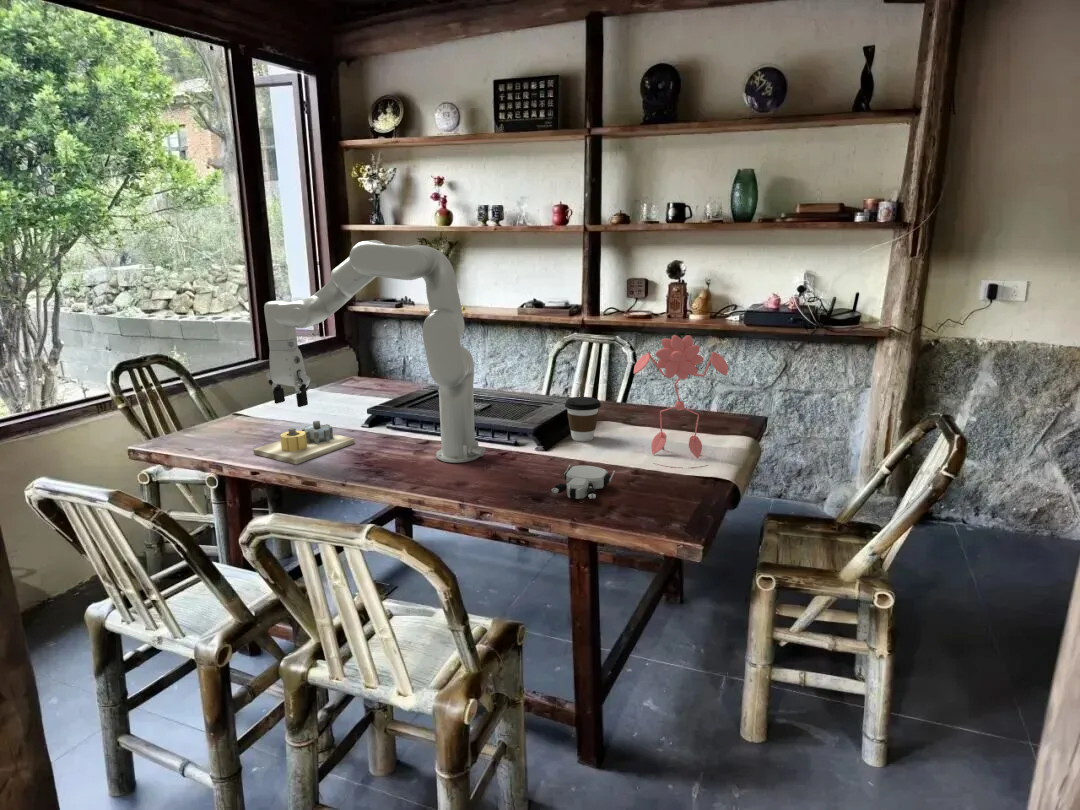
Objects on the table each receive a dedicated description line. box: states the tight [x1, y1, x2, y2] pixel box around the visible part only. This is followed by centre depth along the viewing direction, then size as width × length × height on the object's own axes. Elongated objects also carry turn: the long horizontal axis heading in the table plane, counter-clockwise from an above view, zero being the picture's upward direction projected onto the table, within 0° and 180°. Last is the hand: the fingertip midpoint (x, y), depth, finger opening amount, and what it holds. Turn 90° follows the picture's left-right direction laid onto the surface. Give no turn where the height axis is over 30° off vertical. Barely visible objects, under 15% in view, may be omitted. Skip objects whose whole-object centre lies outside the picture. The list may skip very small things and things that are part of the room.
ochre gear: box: [279, 430, 307, 451], centre depth 202 cm, size 7×7×4 cm
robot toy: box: [551, 464, 616, 500], centre depth 171 cm, size 12×4×15 cm
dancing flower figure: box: [633, 334, 728, 469], centre depth 190 cm, size 15×26×35 cm, turn 68°
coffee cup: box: [564, 396, 602, 442], centre depth 212 cm, size 11×11×12 cm
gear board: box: [252, 420, 356, 465], centre depth 205 cm, size 18×22×7 cm
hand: (291, 404), depth 199 cm, fingers open, 9 cm apart
